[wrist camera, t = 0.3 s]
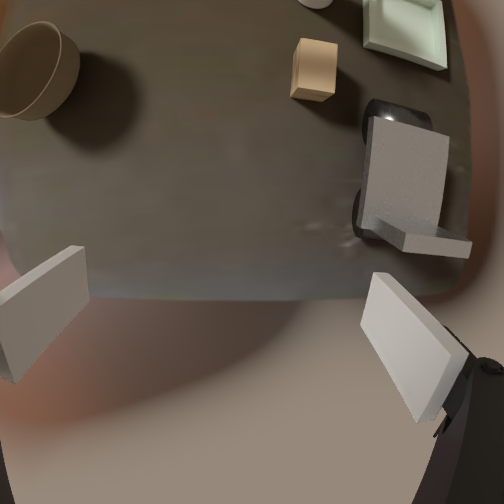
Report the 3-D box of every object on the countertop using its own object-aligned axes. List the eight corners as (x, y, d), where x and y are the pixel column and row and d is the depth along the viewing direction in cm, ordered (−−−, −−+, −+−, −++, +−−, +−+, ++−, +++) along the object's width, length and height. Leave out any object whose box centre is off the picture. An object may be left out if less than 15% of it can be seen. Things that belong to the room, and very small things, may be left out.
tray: (362, -20, 29) (367, -27, 26) (433, 6, 29) (441, 1, 27) (362, 47, 32) (369, 41, 30) (437, 71, 33) (447, 68, 30)
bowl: (102, 32, 31) (68, 7, 21) (91, 117, 35) (50, 110, 25) (34, 49, 30) (-5, 35, 21) (24, 127, 34) (-20, 126, 25)
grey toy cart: (353, 100, 35) (411, 73, 20) (419, 117, 35) (494, 107, 20) (338, 229, 40) (387, 273, 25) (404, 237, 40) (470, 278, 25)
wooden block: (293, 54, 33) (301, 37, 27) (324, 59, 33) (337, 44, 27) (290, 97, 35) (297, 87, 29) (322, 102, 35) (334, 93, 29)
